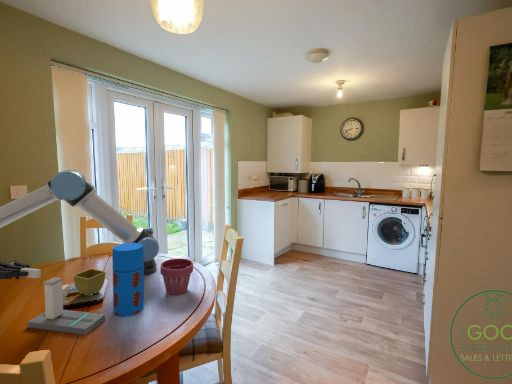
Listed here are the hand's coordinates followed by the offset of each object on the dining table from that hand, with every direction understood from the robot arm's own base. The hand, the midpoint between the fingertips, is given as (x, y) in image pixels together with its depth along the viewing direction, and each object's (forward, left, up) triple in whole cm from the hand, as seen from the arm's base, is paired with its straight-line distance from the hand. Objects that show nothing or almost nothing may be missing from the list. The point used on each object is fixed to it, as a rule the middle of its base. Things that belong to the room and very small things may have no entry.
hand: (38, 273), depth 94 cm
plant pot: (-47, -13, -17) cm, 51 cm away
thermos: (-29, -1, -17) cm, 34 cm away
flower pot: (-11, -19, -17) cm, 28 cm away
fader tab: (-5, +2, -15) cm, 16 cm away
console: (-10, +4, -17) cm, 20 cm away
